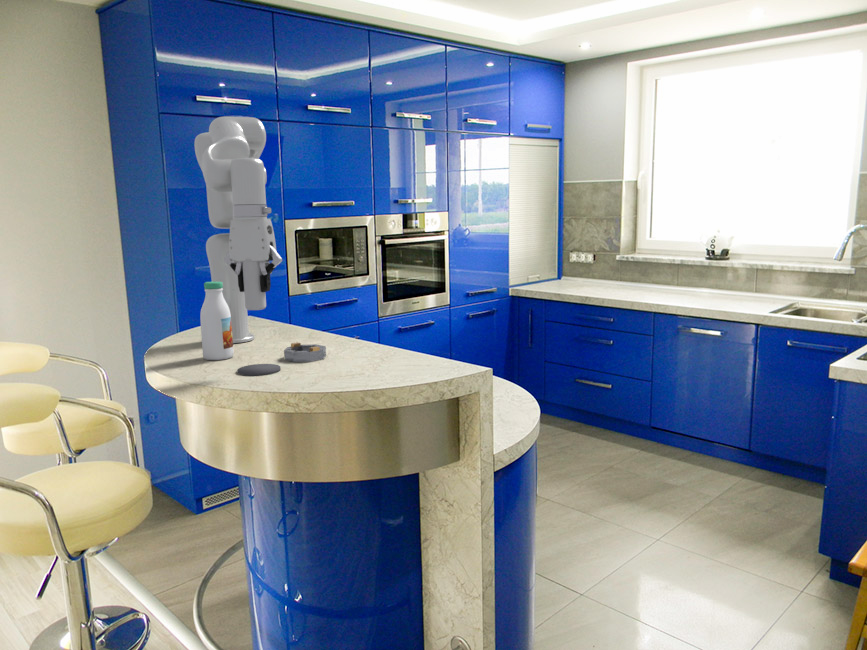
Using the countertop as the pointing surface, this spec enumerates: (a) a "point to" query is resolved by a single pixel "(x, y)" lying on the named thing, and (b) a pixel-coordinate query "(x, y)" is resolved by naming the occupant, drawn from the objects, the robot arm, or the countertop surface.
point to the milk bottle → (216, 324)
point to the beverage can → (253, 286)
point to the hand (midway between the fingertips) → (254, 290)
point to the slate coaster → (258, 369)
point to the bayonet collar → (304, 352)
